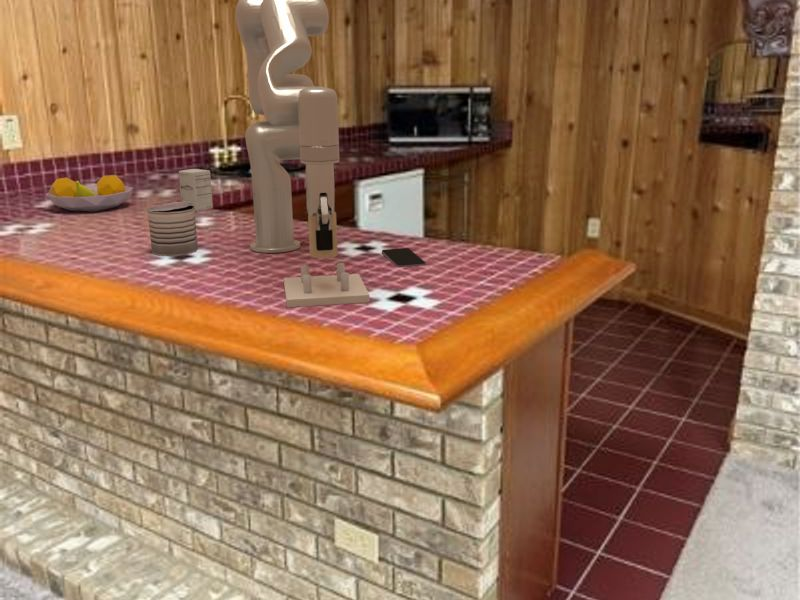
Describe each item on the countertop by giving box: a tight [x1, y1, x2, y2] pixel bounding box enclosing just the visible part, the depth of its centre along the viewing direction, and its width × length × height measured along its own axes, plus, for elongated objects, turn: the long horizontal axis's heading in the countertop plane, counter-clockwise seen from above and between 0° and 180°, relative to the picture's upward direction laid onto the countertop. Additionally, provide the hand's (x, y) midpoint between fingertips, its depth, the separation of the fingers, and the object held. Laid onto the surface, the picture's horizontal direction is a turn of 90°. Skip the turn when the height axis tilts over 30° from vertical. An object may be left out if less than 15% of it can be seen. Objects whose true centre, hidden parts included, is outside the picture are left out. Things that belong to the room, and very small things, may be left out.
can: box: [146, 201, 199, 257], centre depth 186 cm, size 11×11×12 cm
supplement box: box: [178, 168, 214, 212], centre depth 243 cm, size 7×7×13 cm
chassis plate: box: [283, 262, 371, 308], centre depth 150 cm, size 16×16×5 cm
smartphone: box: [381, 247, 427, 268], centre depth 178 cm, size 7×1×15 cm
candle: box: [307, 208, 338, 259], centre depth 147 cm, size 6×6×10 cm
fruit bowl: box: [45, 174, 134, 212], centre depth 245 cm, size 28×27×11 cm
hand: (323, 245), depth 148 cm, fingers closed on candle, 5 cm apart
